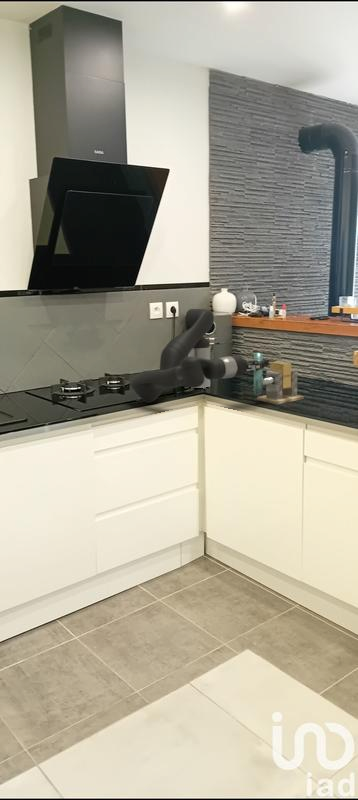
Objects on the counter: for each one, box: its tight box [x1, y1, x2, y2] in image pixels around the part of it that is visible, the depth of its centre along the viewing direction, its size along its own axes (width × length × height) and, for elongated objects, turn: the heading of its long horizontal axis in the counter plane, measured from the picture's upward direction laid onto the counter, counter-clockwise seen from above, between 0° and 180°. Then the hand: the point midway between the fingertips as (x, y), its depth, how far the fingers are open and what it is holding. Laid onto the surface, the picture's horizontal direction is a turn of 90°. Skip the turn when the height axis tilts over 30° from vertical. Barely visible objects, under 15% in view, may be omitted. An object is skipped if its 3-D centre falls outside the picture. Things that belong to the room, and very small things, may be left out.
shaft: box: [253, 352, 275, 395], centre depth 233 cm, size 18×3×15 cm, turn 125°
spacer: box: [269, 360, 292, 389], centre depth 236 cm, size 4×7×9 cm, turn 35°
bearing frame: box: [256, 368, 304, 405], centre depth 237 cm, size 14×11×11 cm
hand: (264, 362), depth 230 cm, fingers closed on shaft, 3 cm apart
